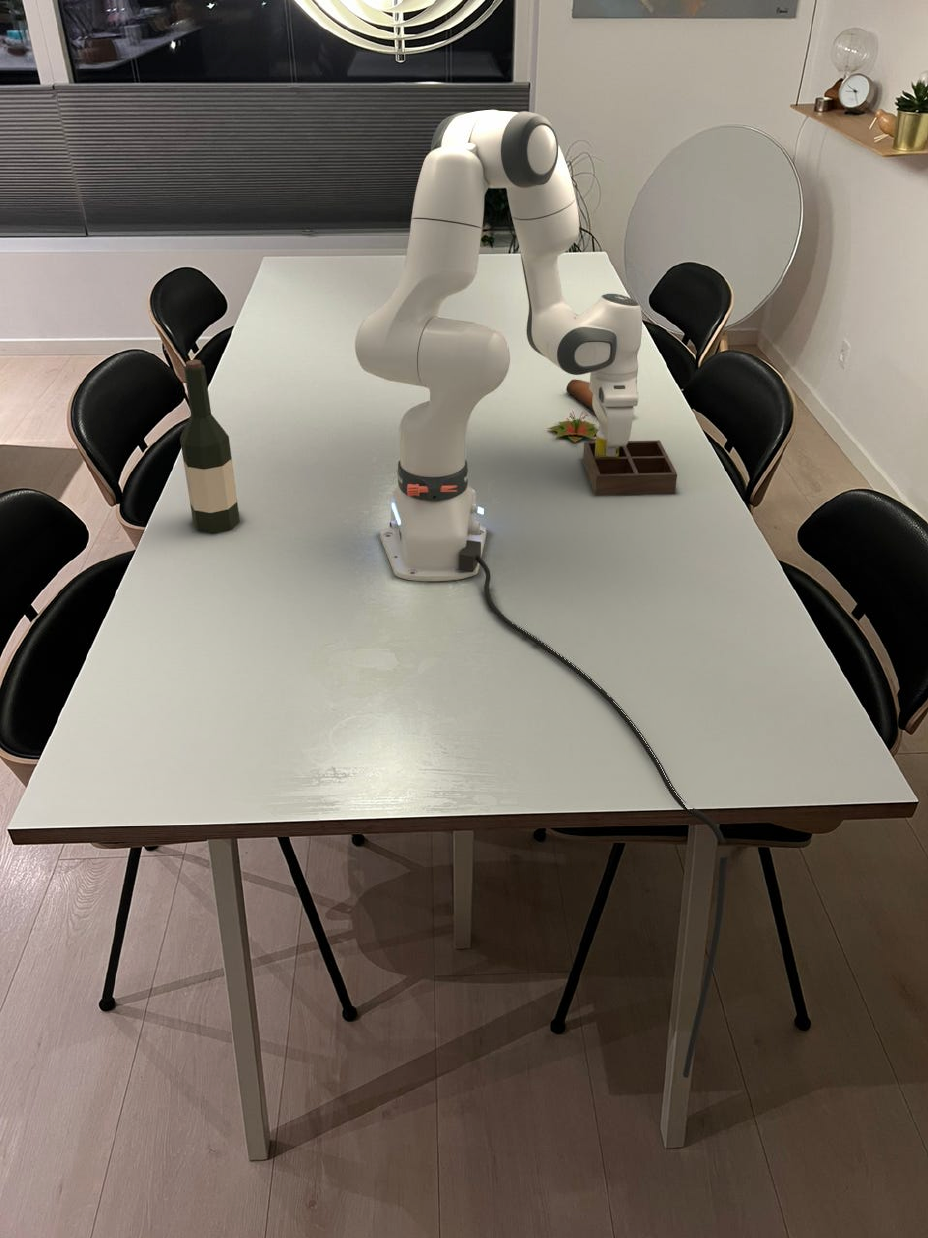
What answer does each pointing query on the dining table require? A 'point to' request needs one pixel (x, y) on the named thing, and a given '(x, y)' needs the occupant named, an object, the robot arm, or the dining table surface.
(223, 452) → the wine bottle
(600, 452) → the supplement bottle
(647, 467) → the wooden compartment tray
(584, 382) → the sunglasses case
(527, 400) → the dining table surface
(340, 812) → the dining table surface
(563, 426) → the lily flower
